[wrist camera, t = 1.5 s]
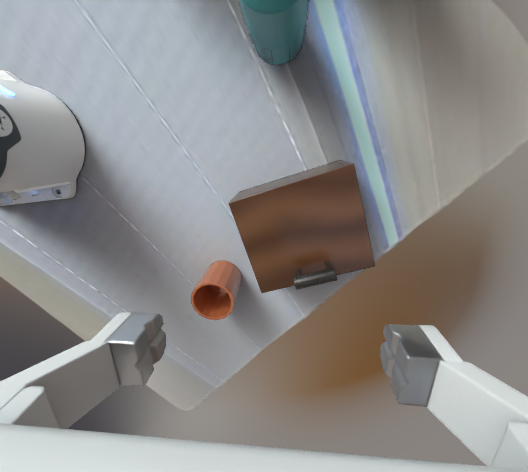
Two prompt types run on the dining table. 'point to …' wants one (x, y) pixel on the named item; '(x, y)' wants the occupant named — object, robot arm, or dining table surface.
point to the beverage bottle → (276, 27)
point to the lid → (305, 230)
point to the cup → (217, 290)
